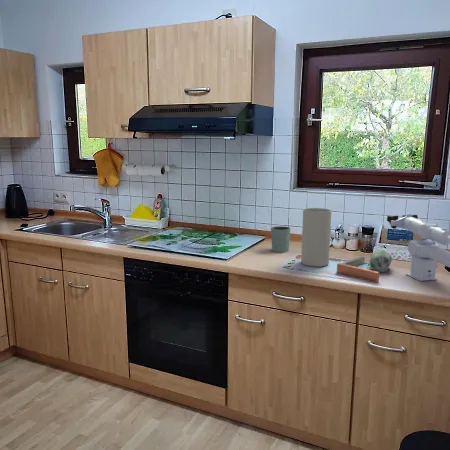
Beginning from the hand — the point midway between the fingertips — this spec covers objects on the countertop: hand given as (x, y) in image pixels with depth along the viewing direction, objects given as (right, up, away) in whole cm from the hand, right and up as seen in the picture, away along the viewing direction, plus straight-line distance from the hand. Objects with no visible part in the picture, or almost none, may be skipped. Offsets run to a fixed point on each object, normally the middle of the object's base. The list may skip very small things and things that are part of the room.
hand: (395, 217), depth 189 cm
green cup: (-48, -17, +29) cm, 59 cm away
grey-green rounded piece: (-8, -23, -4) cm, 25 cm away
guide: (-15, -24, -8) cm, 29 cm away
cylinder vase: (-35, -21, +5) cm, 41 cm away
